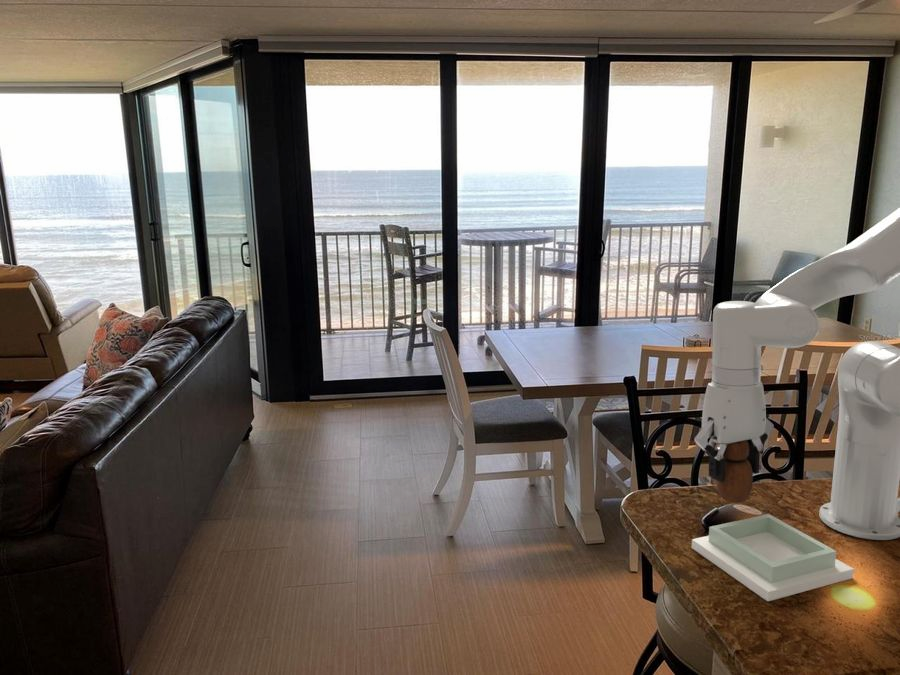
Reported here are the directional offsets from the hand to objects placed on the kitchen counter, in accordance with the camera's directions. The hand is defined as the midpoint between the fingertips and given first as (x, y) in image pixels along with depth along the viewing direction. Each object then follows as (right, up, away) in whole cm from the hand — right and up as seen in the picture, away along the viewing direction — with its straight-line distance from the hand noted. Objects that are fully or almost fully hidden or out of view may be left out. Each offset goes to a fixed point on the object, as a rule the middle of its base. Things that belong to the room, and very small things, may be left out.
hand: (733, 474), depth 117 cm
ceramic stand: (0, -11, -12) cm, 17 cm away
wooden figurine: (0, -5, +1) cm, 5 cm away
